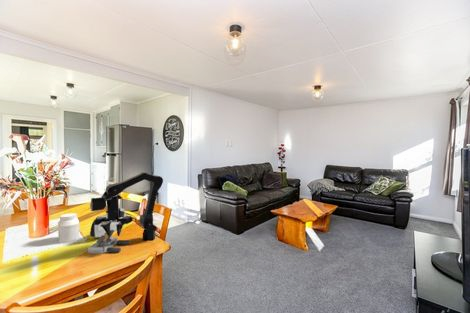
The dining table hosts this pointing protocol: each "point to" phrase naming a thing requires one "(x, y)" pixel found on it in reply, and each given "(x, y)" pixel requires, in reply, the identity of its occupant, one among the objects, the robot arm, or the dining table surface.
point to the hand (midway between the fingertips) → (114, 236)
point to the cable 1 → (113, 249)
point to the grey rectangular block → (110, 234)
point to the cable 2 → (123, 242)
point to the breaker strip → (102, 246)
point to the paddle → (100, 240)
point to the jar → (68, 228)
